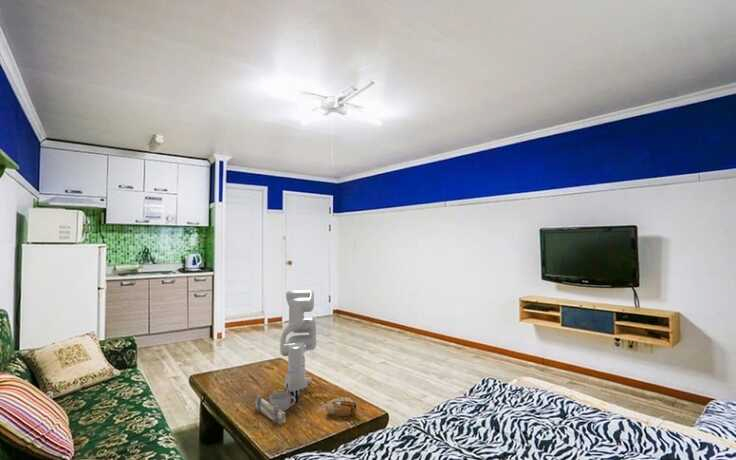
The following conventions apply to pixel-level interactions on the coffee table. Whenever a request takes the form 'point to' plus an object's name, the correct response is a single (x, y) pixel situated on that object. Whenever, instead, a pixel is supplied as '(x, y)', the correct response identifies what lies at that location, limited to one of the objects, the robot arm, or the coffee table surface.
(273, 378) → the coffee table surface
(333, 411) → the nautilus
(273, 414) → the bar
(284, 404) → the teacup
